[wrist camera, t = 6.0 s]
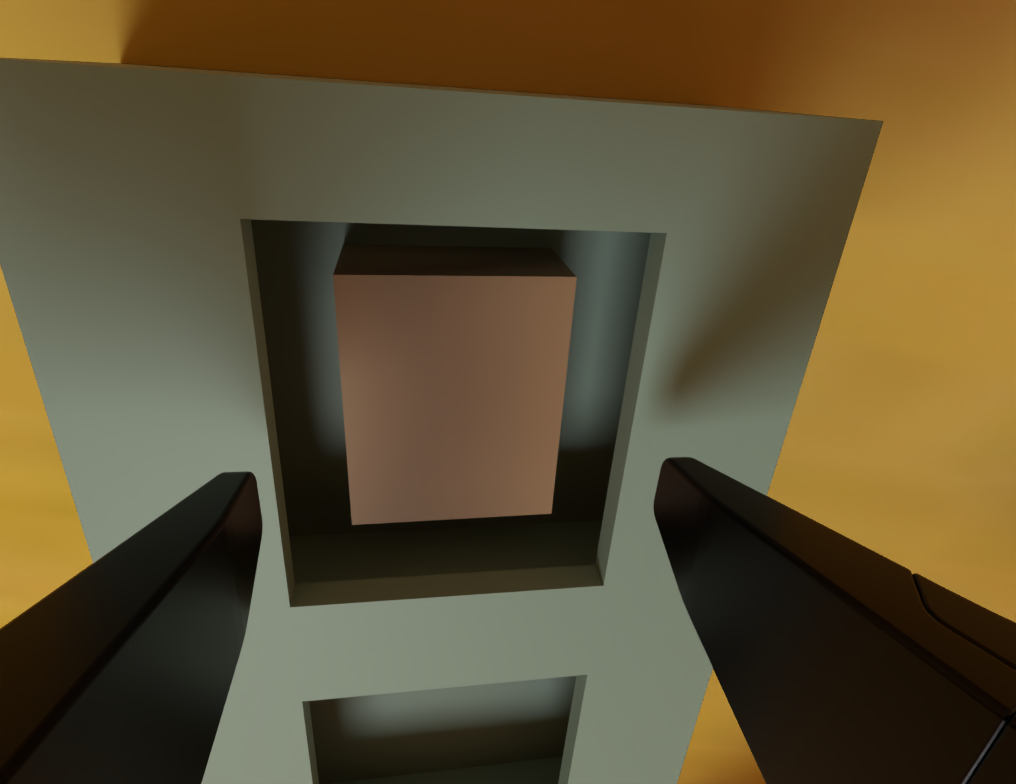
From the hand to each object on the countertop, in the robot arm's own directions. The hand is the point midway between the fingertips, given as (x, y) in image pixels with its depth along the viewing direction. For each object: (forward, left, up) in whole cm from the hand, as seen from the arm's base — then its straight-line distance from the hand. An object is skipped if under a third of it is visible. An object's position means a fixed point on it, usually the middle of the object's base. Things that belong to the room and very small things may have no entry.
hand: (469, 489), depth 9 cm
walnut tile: (0, 0, -4) cm, 4 cm away
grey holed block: (0, +5, -6) cm, 8 cm away
